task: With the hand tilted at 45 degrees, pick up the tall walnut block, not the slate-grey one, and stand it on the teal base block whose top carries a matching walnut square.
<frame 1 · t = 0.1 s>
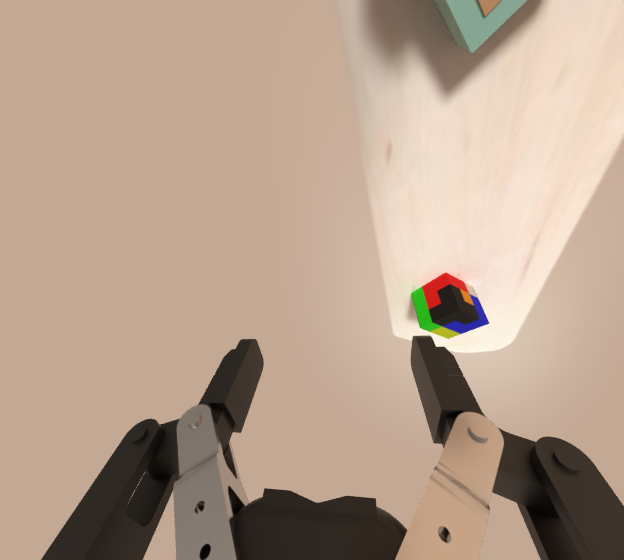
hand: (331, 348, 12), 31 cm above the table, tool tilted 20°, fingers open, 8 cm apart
puzzle toy: (440, 289, 59), on the table
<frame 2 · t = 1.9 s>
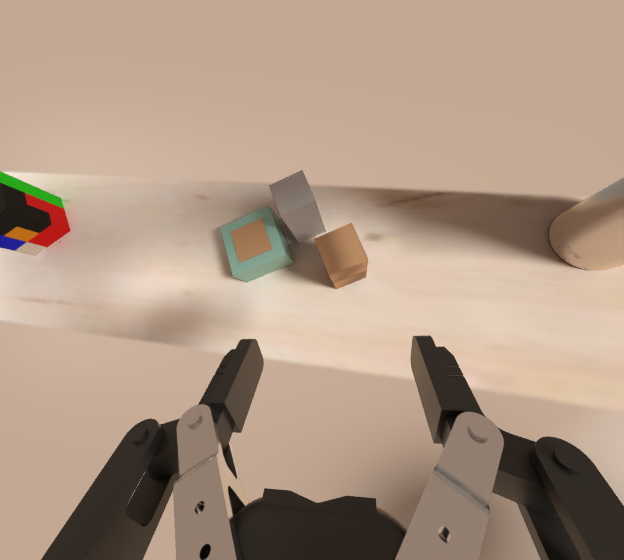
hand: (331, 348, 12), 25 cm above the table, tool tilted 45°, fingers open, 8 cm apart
slate-grey block: (307, 224, 41), on the table
walnut block: (345, 269, 38), on the table
puzzle toy: (49, 226, 54), on the table
teal base block: (263, 250, 42), on the table
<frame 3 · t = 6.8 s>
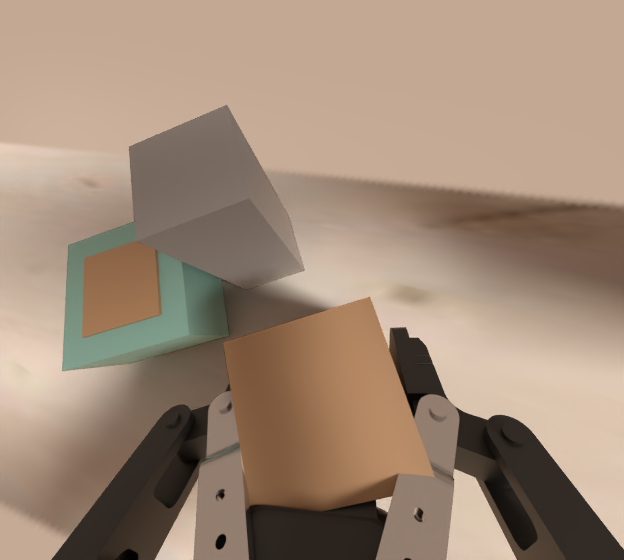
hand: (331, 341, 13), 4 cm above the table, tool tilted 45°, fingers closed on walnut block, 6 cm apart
slate-grey block: (268, 252, 19), on the table
walnut block: (339, 365, 16), on the table, touching gripper
teal base block: (175, 297, 20), on the table
when the fingers open (11 cm above the table, at t = 12.6 s): walnut block drops 2 cm, resting on teal base block.
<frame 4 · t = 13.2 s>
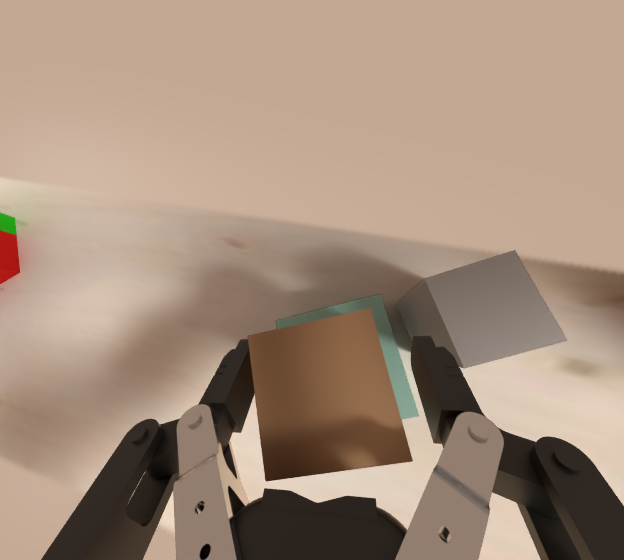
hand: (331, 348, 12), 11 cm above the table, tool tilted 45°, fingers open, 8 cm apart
slate-grey block: (432, 320, 22), on the table
walnut block: (340, 363, 18), point 5 cm above the table, touching teal base block
teal base block: (343, 358, 23), on the table, touching walnut block
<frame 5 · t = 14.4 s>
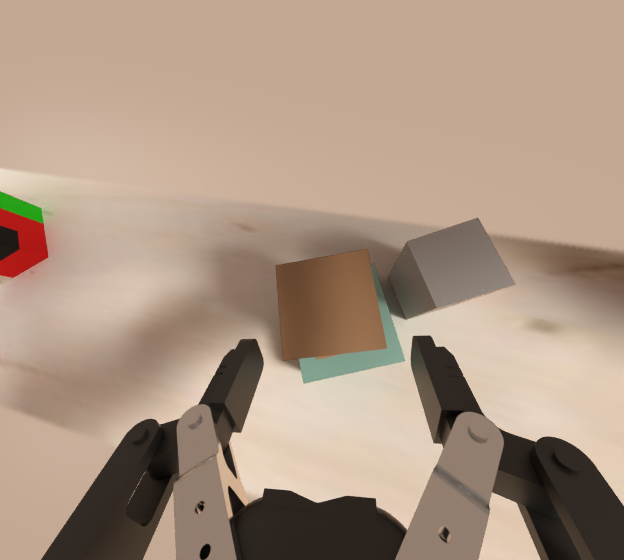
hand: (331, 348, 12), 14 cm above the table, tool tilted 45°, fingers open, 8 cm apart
slate-grey block: (419, 290, 25), on the table
walnut block: (340, 321, 21), point 5 cm above the table, touching teal base block
puzzle toy: (21, 247, 38), on the table
teal base block: (342, 324, 26), on the table, touching walnut block
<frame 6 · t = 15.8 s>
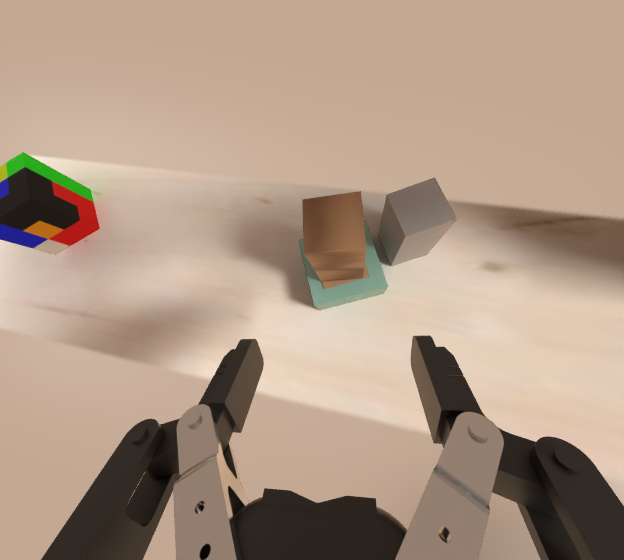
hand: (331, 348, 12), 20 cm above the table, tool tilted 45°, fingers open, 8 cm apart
slate-grey block: (401, 244, 33), on the table
walnut block: (340, 260, 29), point 5 cm above the table, touching teal base block
puzzle toy: (75, 221, 46), on the table
teal base block: (342, 272, 34), on the table, touching walnut block
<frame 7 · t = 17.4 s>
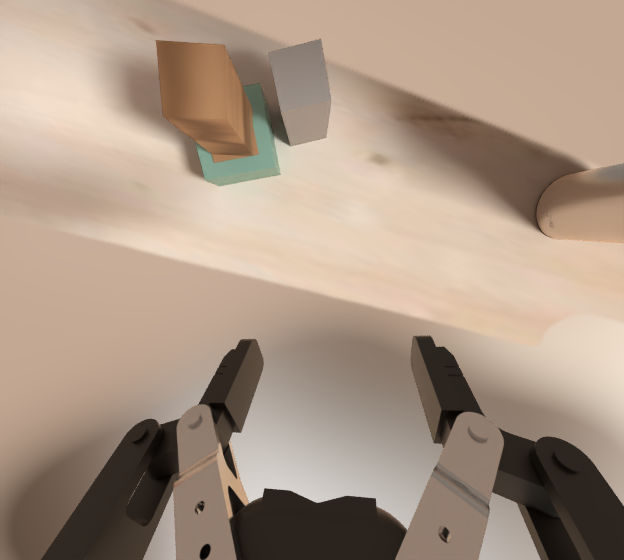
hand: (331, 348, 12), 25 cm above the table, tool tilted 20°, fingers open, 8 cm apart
slate-grey block: (304, 122, 32), on the table
walnut block: (231, 132, 28), point 5 cm above the table
teal base block: (243, 147, 33), on the table
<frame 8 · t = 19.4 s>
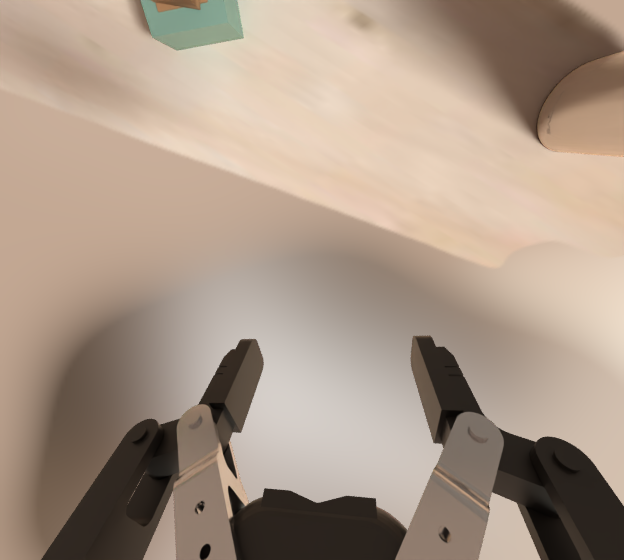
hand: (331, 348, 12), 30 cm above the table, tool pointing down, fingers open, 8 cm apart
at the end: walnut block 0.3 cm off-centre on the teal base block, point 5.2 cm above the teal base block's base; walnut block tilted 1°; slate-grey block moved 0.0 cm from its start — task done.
